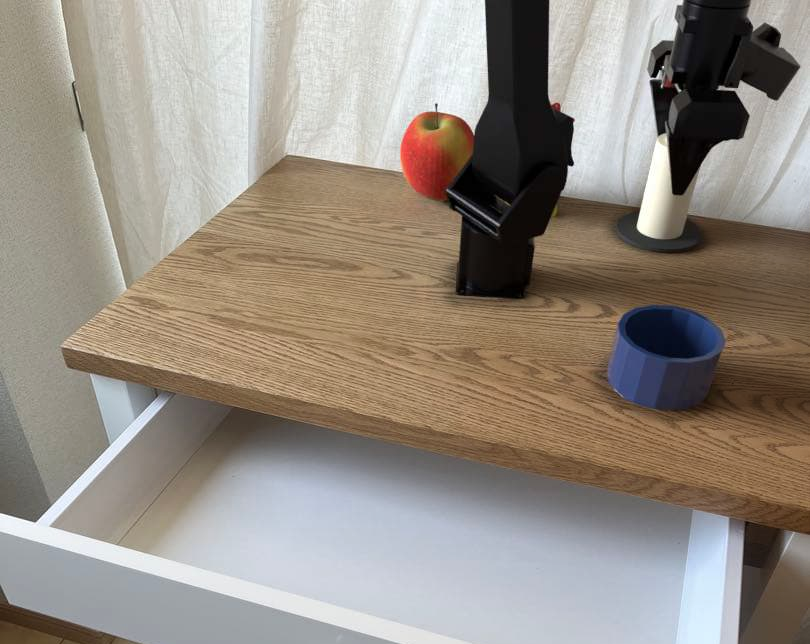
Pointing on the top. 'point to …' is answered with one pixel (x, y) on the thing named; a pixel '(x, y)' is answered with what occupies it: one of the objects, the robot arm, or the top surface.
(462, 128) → the apple
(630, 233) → the coaster
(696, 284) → the top surface
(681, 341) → the cup
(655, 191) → the cream cylinder
